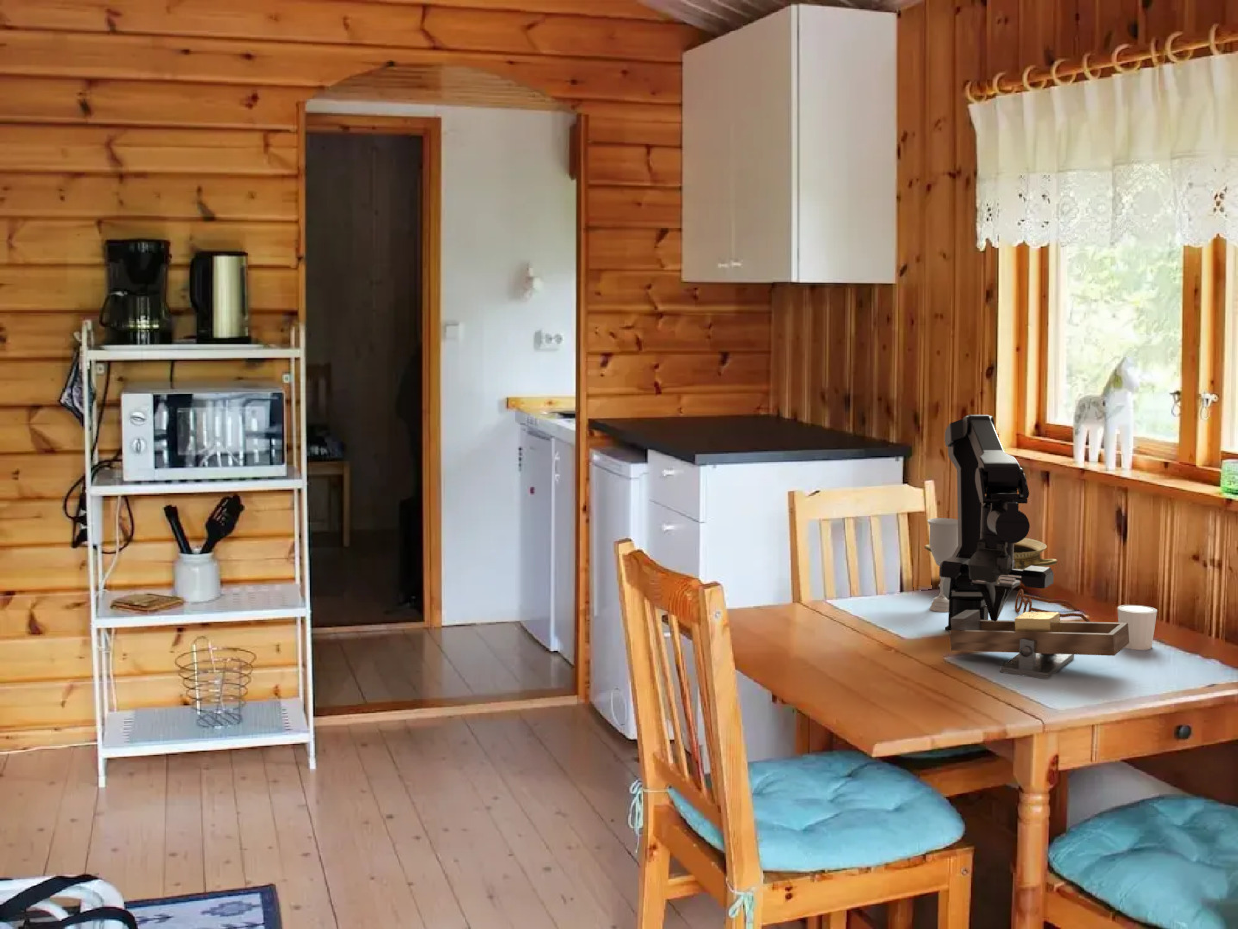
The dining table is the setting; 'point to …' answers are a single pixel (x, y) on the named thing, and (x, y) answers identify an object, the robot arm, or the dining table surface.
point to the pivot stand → (1035, 661)
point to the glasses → (1043, 601)
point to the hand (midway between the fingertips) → (994, 620)
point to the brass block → (1038, 622)
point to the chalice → (942, 552)
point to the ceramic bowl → (1026, 554)
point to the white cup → (1138, 625)
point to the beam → (1036, 636)
